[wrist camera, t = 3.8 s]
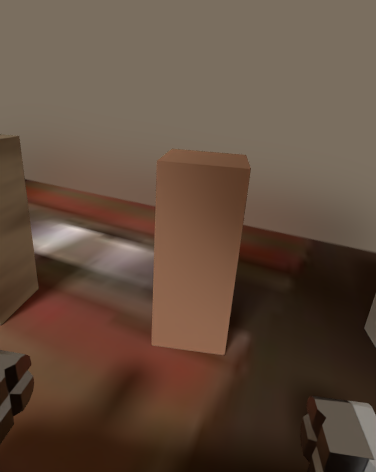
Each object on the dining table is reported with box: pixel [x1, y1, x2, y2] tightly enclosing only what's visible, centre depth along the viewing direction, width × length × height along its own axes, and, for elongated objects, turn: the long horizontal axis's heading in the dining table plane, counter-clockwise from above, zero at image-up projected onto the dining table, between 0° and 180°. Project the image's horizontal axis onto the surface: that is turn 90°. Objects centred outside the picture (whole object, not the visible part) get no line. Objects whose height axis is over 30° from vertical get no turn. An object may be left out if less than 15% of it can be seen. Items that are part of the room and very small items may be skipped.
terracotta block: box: [152, 149, 251, 355], centre depth 19 cm, size 4×4×11 cm
